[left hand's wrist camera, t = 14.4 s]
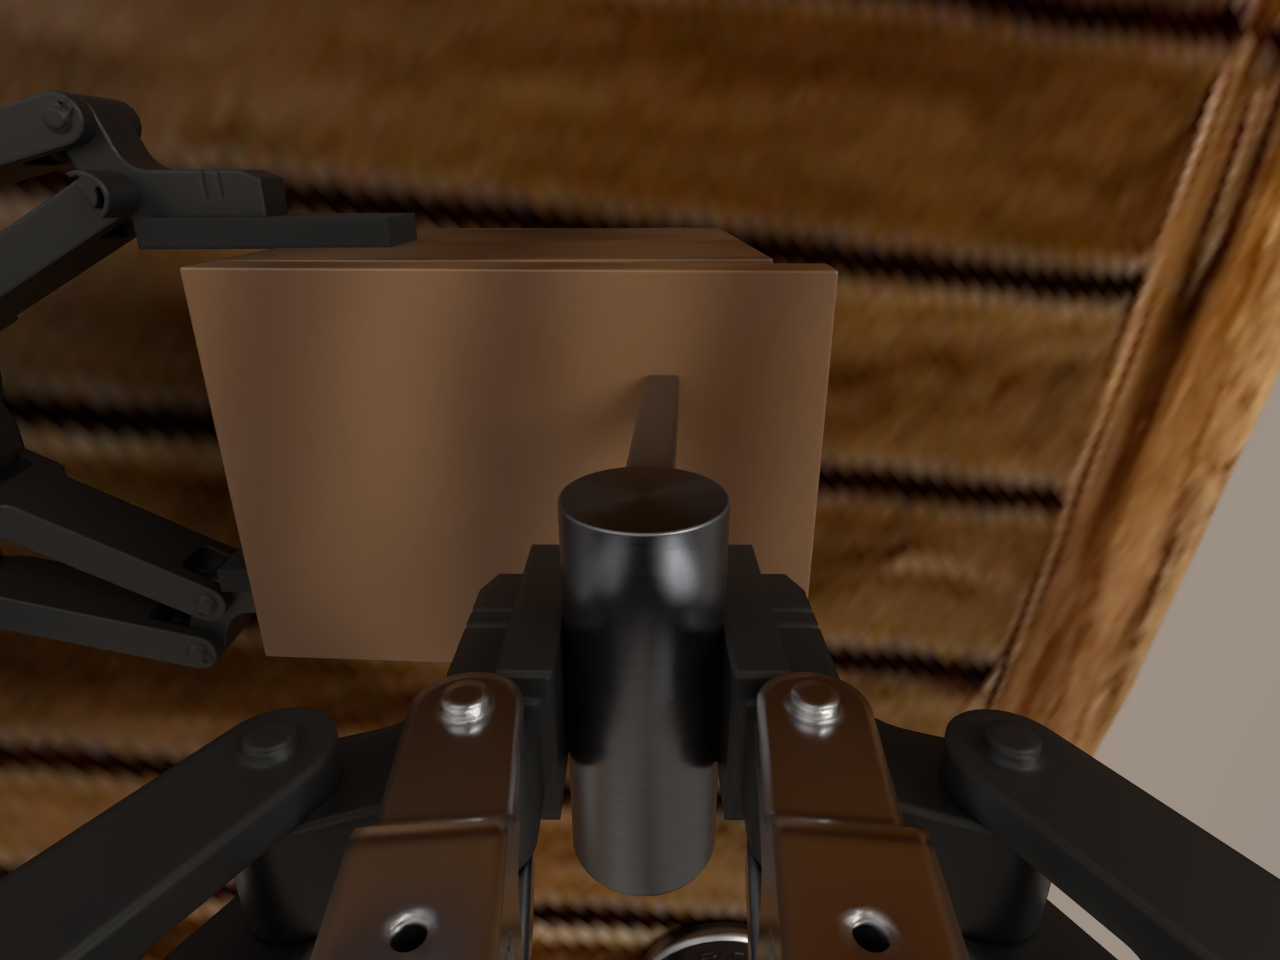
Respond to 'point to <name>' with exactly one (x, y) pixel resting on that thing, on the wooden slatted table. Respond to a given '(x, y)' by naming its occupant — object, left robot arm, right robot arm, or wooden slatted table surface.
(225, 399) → the lid
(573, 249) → the chest
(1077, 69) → the wooden slatted table surface
